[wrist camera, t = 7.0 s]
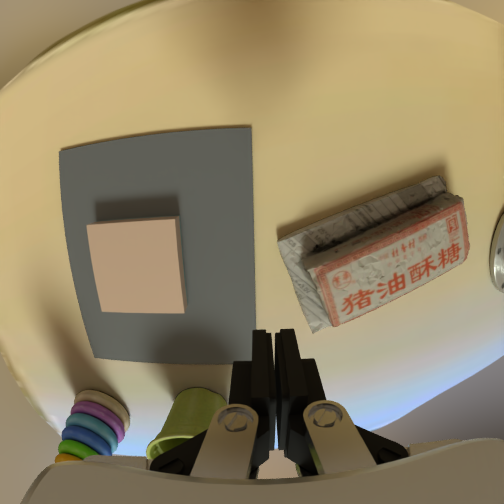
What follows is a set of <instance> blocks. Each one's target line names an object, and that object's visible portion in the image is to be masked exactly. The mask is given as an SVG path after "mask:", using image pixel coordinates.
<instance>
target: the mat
mask: <svg viewBox="0 0 504 504" xmlns="http://www.w3.org/2000/svg"><path fill="white" fill-rule="evenodd" d="M59 170H60V188H61V201H62V211H63V220H64V228H65V236H66V242H67V249H68V255H69V260H70V266H71V271H72V276H73V281H74V285H75V290H76V294H77V298H78V302H79V306H80V310H81V314H82V318H83V322H84V325H85V329H86V332H87V335H88V339H89V342H90V345H91V348H92V351H93V354H94V357H95V358H101V359H110V360H121V361H133V362H148V363H168V364H233V361H252V330H256V310H255V263H254V218H253V174H252V133H251V128H226V129H207V130H193V131H181V132H171V133H162V134H153V135H145V136H138V137H131V138H125V139H118V140H112V141H107V142H101V143H96V144H91V145H86V146H81V147H76V148H72V149H67V150H63V151H59ZM176 215H180V222H181V236H182V248H183V259H184V270H185V280H186V289H187V298H188V305H187V308H186V311H185V313H122V312H102V310H101V306H100V301H99V297H98V292H97V287H96V282H95V277H94V272H93V266H92V261H91V254H90V248H89V241H88V234H87V226H86V225H88V224H91V223H93V222H95V221H103V220H115V219H129V218H143V217H158V216H176Z"/></svg>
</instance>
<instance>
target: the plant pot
mask: <svg viewBox="0 0 504 504" xmlns="http://www.w3.org/2000/svg"><path fill="white" fill-rule="evenodd" d="M226 405H227V403H226V401H225V400H224V398H223V397H222V396H221V395H219V394H216V393H213V392H211V391H209V390H207V389H204V388H191V389H187V390H184V391H182V392H181V393H180V394H179V395H178V396H177V397H176V399H175V401H174V403H173V406H172V408H171V410H170V413H169V415H168V417H167V419H166V422H165V424H164V426H163V428H162V430H161V432H160V433H159V434H158V435H157V437H156V438H155V439H154V440H152V441H151V442H150V443H149V445H148V447H147V450H146V455H147V458H148V459H154V458H156V457H157V456H159V455H160V454H162V453H164V452H166V451H168V450H170V449H172V448H174V447H176V446H178V445H180V444H181V443H183V442H185V441H187V440H189V439H191V438H192V437H194V436H196V435H198V434H200V433H201V432H203V431H205V430H207V429H208V428H209V425H210V423H211V420H212V418H213V415H214V414H215V412H216V411H217V410H218V409H220V408H221V407H224V406H226Z"/></svg>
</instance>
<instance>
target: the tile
mask: <svg viewBox="0 0 504 504" xmlns="http://www.w3.org/2000/svg"><path fill="white" fill-rule="evenodd" d="M86 226H87V234H88V241H89V248H90V254H91V261H92V266H93V272H94V277H95V282H96V287H97V292H98V297H99V301H100V306H101V310H102V312H122V313H185V311H186V308H187V305H188V298H187V289H186V280H185V270H184V259H183V248H182V236H181V222H180V215H176V216H158V217H143V218H129V219H115V220H103V221H95V222H93V223H91V224H88V225H86Z"/></svg>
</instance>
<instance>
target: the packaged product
mask: <svg viewBox="0 0 504 504" xmlns="http://www.w3.org/2000/svg"><path fill="white" fill-rule="evenodd" d="M468 238H469V236H468V232H467V219H466V213H465V208H464V201H463V198H462V197H459V196H458V195H455V196H454V195H453V194H451V193H448V192H447V189H446V182H445V181H444V179H443V178H442V177H441V176H434V177H431V178H429V179H427V180H424V181H422V182H420V183H418V184H415V185H412V186H409V187H406V188H403V189H400V190H397V191H394V192H391V193H389V194H386V195H384V196H381V197H378V198H376V199H373V200H370V201H368V202H365V203H362V204H359V205H357V206H354V207H352V208H349V209H347V210H344V211H342V212H340V213H337V214H335V215H332V216H330V217H327V218H325V219H322V220H320V221H318V222H315V223H313V224H311V225H308V226H306V227H304V228H301V229H299V230H297V231H294V232H292V233H290V234H288V235H286V236H284V237H282V238H281V239H279V240H278V241H277V244H278V247H279V250H280V254H281V257H282V259H283V261H284V264H285V266H286V268H287V270H288V273H289V275H290V277H291V279H292V283H293V286H294V289H295V293H296V295H297V298H298V301H299V303H300V306H301V309H302V311H303V314H304V316H305V318H306V320H307V322H308V324H309V327H310V329H311V331H312V333H315V332H317V331H319V330H321V329H324V328H326V327H330V326H333V327H337V326H339V325H340V324H343V323H346V322H348V321H351V320H353V319H355V318H358V317H360V316H362V315H364V314H366V313H368V312H371V311H373V310H375V309H377V308H379V307H381V306H383V305H385V304H387V303H389V302H391V301H393V300H395V299H397V298H399V297H401V296H403V295H405V294H407V293H409V292H411V291H413V290H415V289H417V288H418V287H420V286H422V285H424V284H426V283H428V282H429V281H431V280H433V279H435V278H436V277H439V276H441V275H442V274H444V273H446V272H448V271H450V270H451V269H453V268H454V267H456V266H458V265H460V264H462V263H463V262H464V261H465V260H466V259H467V255H468V251H469V249H470V243H469V241H468Z"/></svg>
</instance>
